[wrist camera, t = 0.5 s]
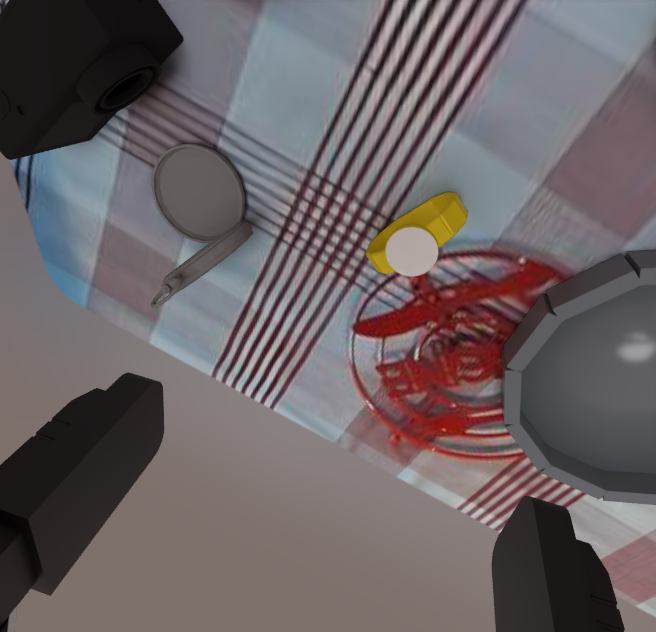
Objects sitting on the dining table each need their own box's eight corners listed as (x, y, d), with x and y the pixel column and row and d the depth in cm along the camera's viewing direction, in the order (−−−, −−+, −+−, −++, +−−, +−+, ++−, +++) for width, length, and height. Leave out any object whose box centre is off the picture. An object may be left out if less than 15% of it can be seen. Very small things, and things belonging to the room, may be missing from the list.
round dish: (879, 237, 24) (920, 255, 21) (779, 486, 32) (801, 516, 30) (503, 258, 29) (506, 275, 27) (500, 467, 37) (503, 492, 35)
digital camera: (101, 156, 32) (22, 180, 27) (44, 86, 31) (-54, 95, 25) (198, 58, 28) (127, 60, 22) (136, -32, 26) (41, -56, 20)
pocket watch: (166, 125, 30) (51, 155, 22) (284, 177, 30) (213, 228, 21) (150, 234, 34) (50, 294, 26) (253, 280, 34) (185, 355, 26)
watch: (447, 173, 28) (452, 195, 22) (470, 211, 28) (480, 242, 23) (364, 227, 30) (352, 259, 25) (388, 261, 31) (380, 299, 26)
